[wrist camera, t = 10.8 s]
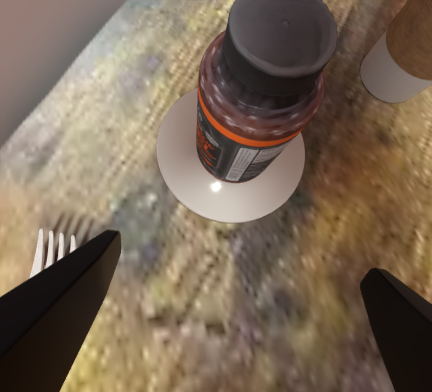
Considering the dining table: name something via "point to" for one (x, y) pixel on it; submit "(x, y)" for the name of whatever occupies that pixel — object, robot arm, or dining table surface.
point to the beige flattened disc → (214, 188)
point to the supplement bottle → (261, 84)
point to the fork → (49, 251)
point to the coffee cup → (401, 55)
